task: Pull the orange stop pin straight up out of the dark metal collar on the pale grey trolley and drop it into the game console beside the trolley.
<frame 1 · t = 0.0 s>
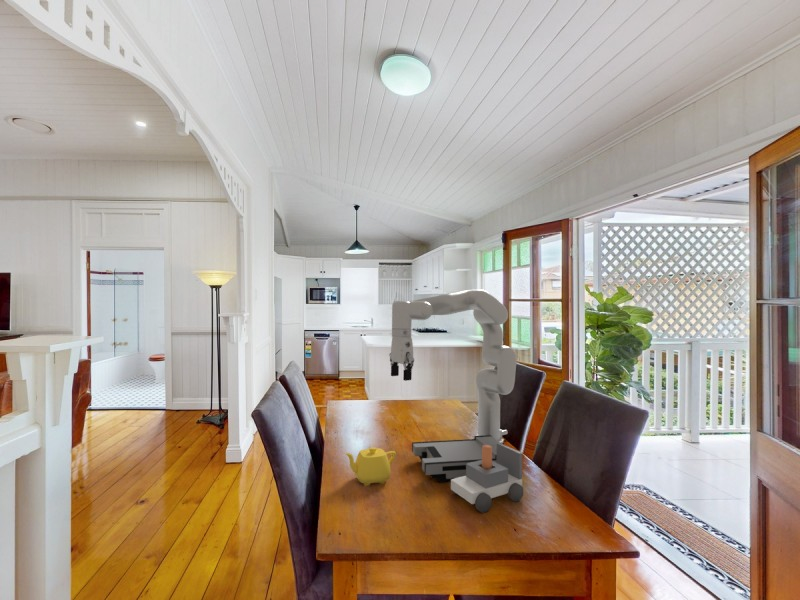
hand: (400, 378, 145), 31 cm above the table, tool pointing down, fingers open, 9 cm apart
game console: (461, 470, 137), on the table
teapot: (370, 480, 127), on the table
stop pin: (486, 479, 117), point 5 cm above the table, touching ramp trolley
ramp trolley: (486, 497, 117), on the table
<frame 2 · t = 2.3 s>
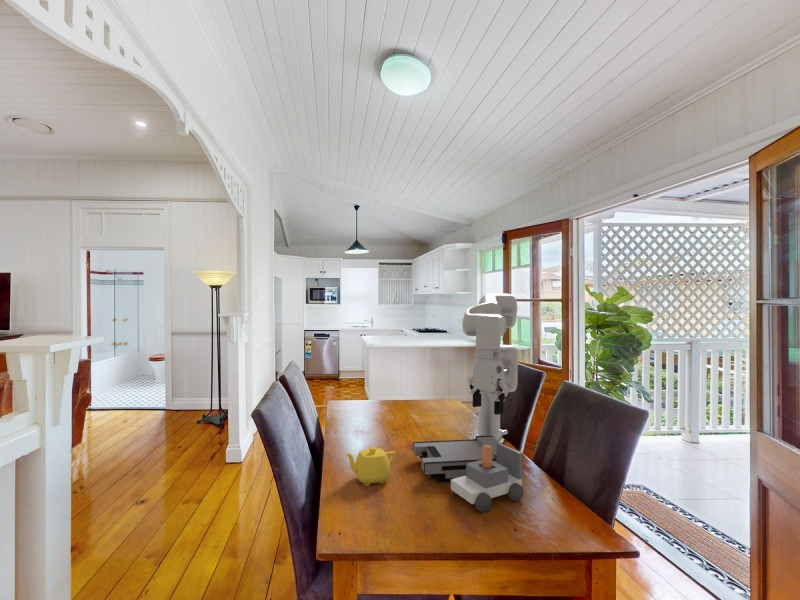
hand: (487, 410, 117), 27 cm above the table, tool pointing down, fingers open, 9 cm apart
nothing on the table moved.
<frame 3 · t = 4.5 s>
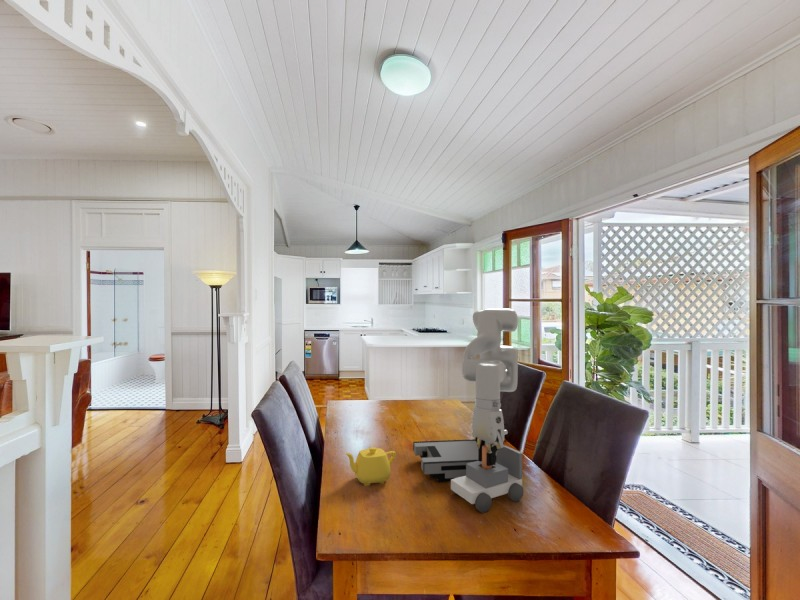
hand: (486, 462, 117), 11 cm above the table, tool pointing down, fingers closed on stop pin, 3 cm apart
stop pin: (486, 479, 117), point 5 cm above the table, touching gripper, ramp trolley
everything else where it was.
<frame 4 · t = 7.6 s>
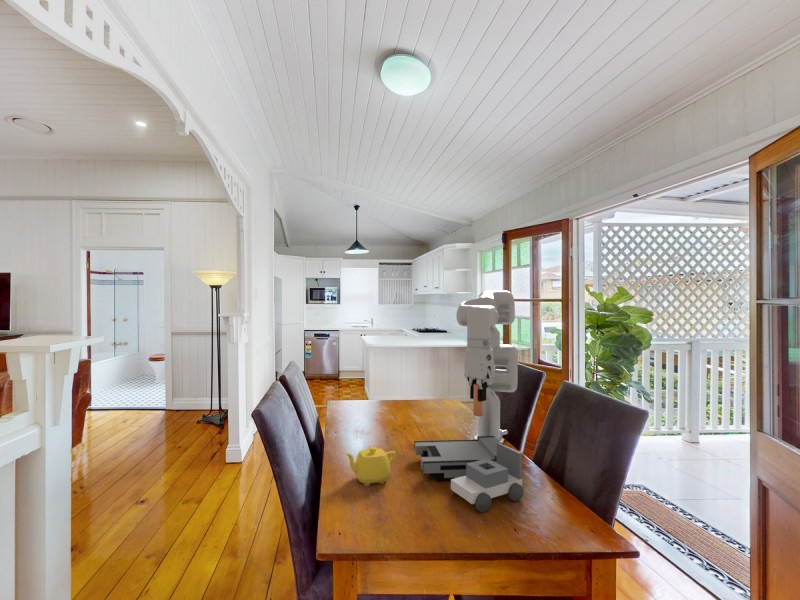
hand: (478, 399, 124), 29 cm above the table, tool pointing down, fingers closed on stop pin, 3 cm apart
stop pin: (477, 414, 124), point 23 cm above the table, touching gripper
everything else where it was.
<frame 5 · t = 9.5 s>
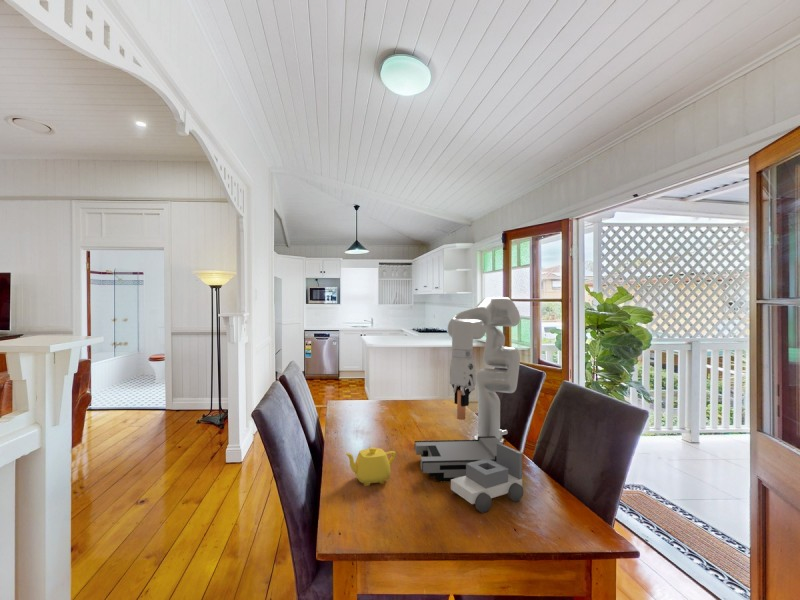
hand: (461, 404, 137), 23 cm above the table, tool pointing down, fingers closed on stop pin, 3 cm apart
stop pin: (461, 418, 137), point 18 cm above the table, touching gripper
everything else where it was.
when the fingers open (15 cm above the table, at t = 10.9 s): stop pin drops 3 cm, resting on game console.
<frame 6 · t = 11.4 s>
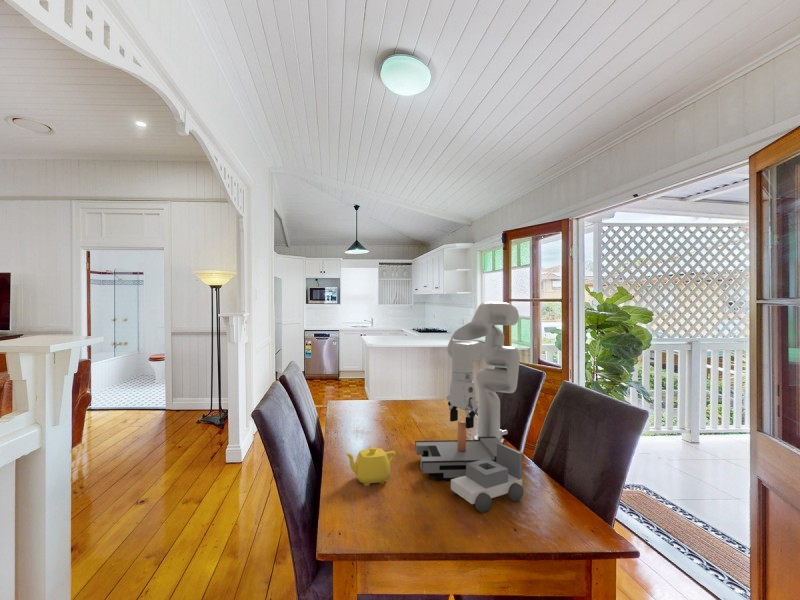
hand: (461, 424, 137), 16 cm above the table, tool pointing down, fingers open, 8 cm apart
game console: (461, 470, 137), on the table, touching stop pin
stop pin: (461, 449, 137), point 7 cm above the table, touching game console
everything else where it was.
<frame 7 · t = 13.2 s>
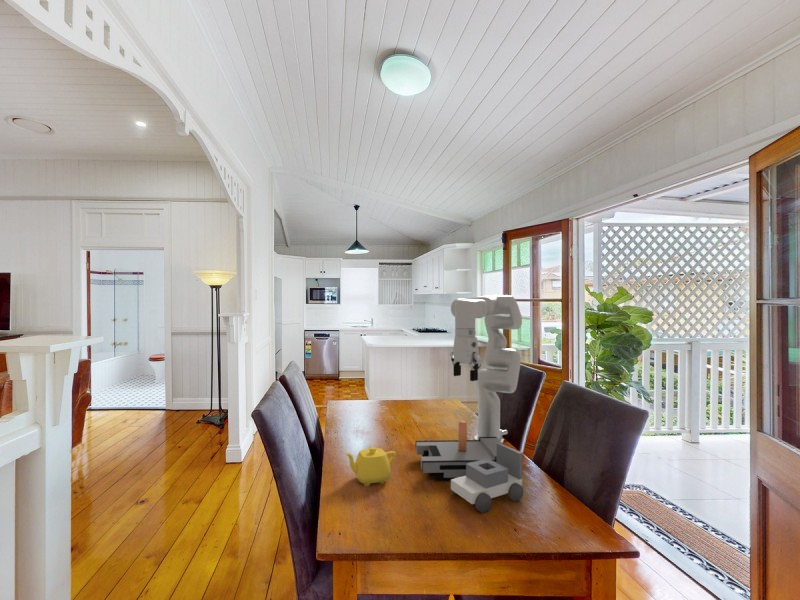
hand: (465, 378, 142), 32 cm above the table, tool pointing down, fingers open, 9 cm apart
nothing on the table moved.
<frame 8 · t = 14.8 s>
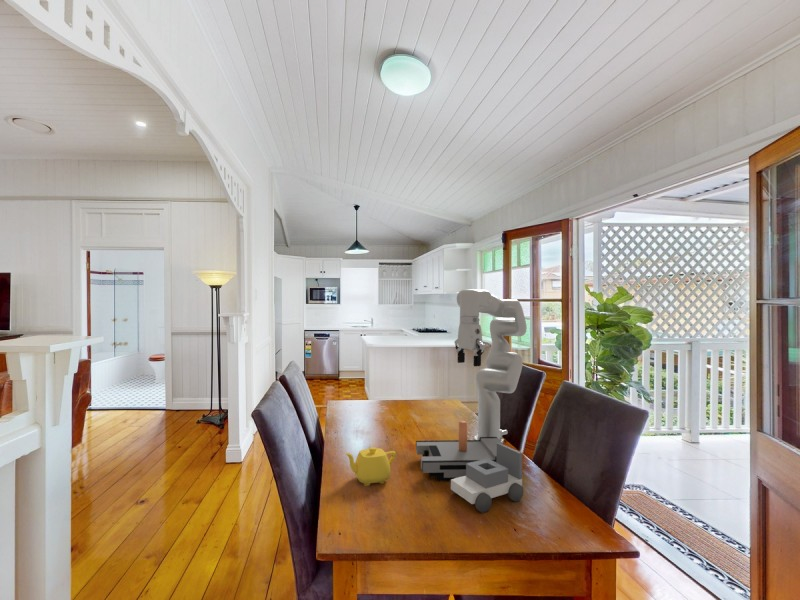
hand: (468, 364, 148), 36 cm above the table, tool pointing down, fingers open, 9 cm apart
nothing on the table moved.
at the end: stop pin inside the target area in the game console (0.0 cm from its centre), point 7.5 cm above the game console's base; the gripper is holding nothing; stop pin moved 20.9 cm from its start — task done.
